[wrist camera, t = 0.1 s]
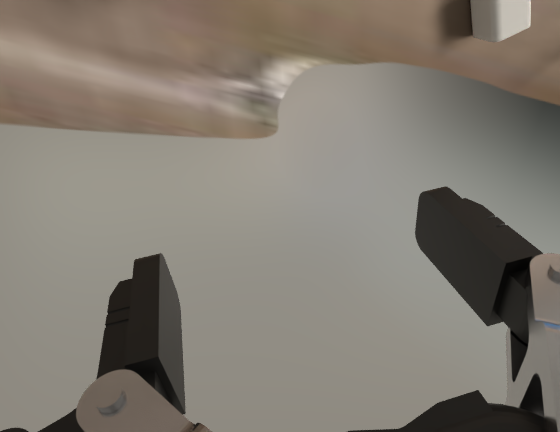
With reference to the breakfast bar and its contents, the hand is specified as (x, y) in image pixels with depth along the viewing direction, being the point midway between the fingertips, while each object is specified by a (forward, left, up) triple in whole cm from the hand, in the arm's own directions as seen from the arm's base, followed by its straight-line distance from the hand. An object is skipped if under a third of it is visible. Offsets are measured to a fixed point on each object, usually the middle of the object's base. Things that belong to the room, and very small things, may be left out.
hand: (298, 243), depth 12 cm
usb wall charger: (-1, +28, -30) cm, 41 cm away
